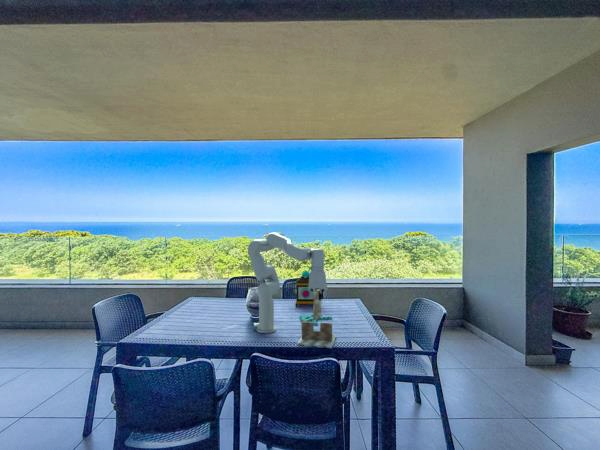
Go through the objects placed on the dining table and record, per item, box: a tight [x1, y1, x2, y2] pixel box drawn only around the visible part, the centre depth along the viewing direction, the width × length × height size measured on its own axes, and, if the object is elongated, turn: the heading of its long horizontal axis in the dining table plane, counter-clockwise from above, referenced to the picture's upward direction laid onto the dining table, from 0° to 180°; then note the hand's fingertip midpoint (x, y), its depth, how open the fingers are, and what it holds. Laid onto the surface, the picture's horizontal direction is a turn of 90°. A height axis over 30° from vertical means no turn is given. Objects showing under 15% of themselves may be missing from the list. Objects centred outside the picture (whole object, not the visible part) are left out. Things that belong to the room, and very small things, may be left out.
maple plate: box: [312, 289, 323, 321], centre depth 194 cm, size 2×16×16 cm, turn 166°
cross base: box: [296, 321, 337, 349], centre depth 192 cm, size 20×18×11 cm
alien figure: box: [298, 313, 333, 327], centre depth 235 cm, size 20×2×20 cm
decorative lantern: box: [293, 270, 318, 308], centre depth 277 cm, size 20×20×30 cm
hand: (317, 299), depth 194 cm, fingers closed on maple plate, 2 cm apart
